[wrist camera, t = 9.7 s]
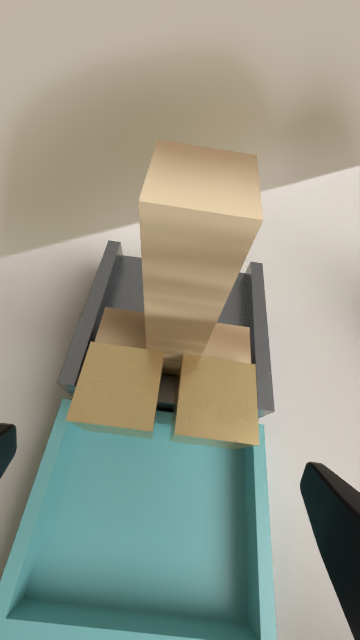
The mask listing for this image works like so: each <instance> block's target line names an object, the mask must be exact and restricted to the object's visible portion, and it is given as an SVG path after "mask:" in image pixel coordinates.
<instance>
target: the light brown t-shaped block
mask: <svg viewBox="0 0 360 640" xmlns="http://www.w3.org/2000/svg"><path fill="white" fill-rule="evenodd" d="M139 217H140V236H141V256H142V275H143V294H144V312H137V311H130V310H123V309H116V308H109V307H105V309H104V313H103V316H102V319H101V322H100V325H99V329H98V332H97V335H96V338H95V342H98V343H105V344H112V345H119V346H127V347H134V348H141V349H148V350H156V351H163V352H164V361H163V370H162V373H164V374H172V375H178V371H179V367H180V364H181V360H182V357H183V354H185V355H192V356H199V357H207V358H214V359H221V360H228V361H236V362H243V363H250V364H251V351H250V327H243V326H236V325H229V324H222V323H217V321H218V318H219V316H220V314H221V312H222V309H223V307H224V305H225V303H226V301H227V298H228V296H229V294H230V292H231V290H232V287H233V285H234V283H235V281H236V279H237V276H238V274H239V272H240V270H241V267H242V265H243V263H244V261H245V259H246V256H247V254H248V252H249V250H250V248H251V245H252V243H253V241H254V239H255V236H256V234H257V232H258V230H259V228H260V225H261V223H262V221H263V216H262V206H261V195H260V185H259V175H258V164H257V155H252V154H246V153H239V152H233V151H227V150H221V149H214V148H209V147H202V146H196V145H190V144H183V143H177V142H171V141H165V140H159V139H158V140H157V144H156V147H155V150H154V153H153V157H152V160H151V163H150V166H149V170H148V173H147V176H146V179H145V182H144V185H143V189H142V192H141V195H140V198H139Z"/></svg>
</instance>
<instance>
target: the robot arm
mask: <svg viewBox="0 0 360 640" xmlns="http://www.w3.org/2000/svg"><path fill="white" fill-rule="evenodd" d="M16 448H17V440H16V426H15V425H13V424H6V423H0V478H1V477H2V475H3V473H4V472H5V470H6V468H7V467H8V465H9V463H10V462H11V460H12V458H13V457H14V455H15V452H16ZM300 490H301V494H302V497H303V500H304V503H305V507H306V510H307V513H308V516H309V520H310V523H311V526H312V529H313V533H314V536H315V539H316V542H317V545H318V548H319V551H320V554H321V556H322V559H323V562H324V564H325V567H326V569H327V572H328V574H329V577H330V579H331V582H332V584H333V587H334V589H335V592H336V594H337V597H338V599H339V602H340V604H341V607H342V609H343V612H344V614H345V617H346V619H347V622H348V624H349V627H350V629H351V632H352V634H353V637H354V639H355V640H360V492H358V491H357V490H356V489H354V488H353V487H352V486H351V485H349V484H348V483H347V482H345V481H344V480H343V479H341V478H340V477H339V476H338V475H336V474H335V473H334V472H332V471H331V470H330V469H329V468H327V467H326V466H325V465H323V464H321V463H316V462H308V463H307V464H306V466H305V470H304V473H303V476H302V479H301V482H300Z"/></svg>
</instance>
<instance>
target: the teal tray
mask: <svg viewBox="0 0 360 640" xmlns="http://www.w3.org/2000/svg"><path fill="white" fill-rule="evenodd" d="M71 401H72V400H71V399H62V402H61V405H60V408H59V411H58V413H57V416H56V419H55V422H54V425H53V428H52V431H51V434H50V437H49V440H48V443H47V446H46V449H45V452H44V455H43V458H42V460H41V463H40V466H39V469H38V472H37V475H36V478H35V481H34V484H33V487H32V490H31V493H30V496H29V499H28V502H27V504H26V507H25V510H24V513H23V516H22V519H21V522H20V525H19V528H18V531H17V534H16V537H15V540H14V543H13V546H12V549H11V551H10V554H9V557H8V560H7V563H6V566H5V569H4V572H3V575H2V578H1V581H0V640H277V634H276V618H275V601H274V585H273V568H272V551H271V535H270V518H269V502H268V485H267V469H266V452H265V436H264V425H262V424H258V426H259V445H258V446H253V447H247V448H242V449H236V450H234V449H226V448H218V447H210V446H202V445H194V444H187V443H179V442H171V441H169V440H170V432H171V423H172V415H173V413H170V412H163V411H157V412H156V419H155V425H154V432H153V439H147V438H139V437H132V436H124V435H116V434H108V433H100V432H92V431H85V430H83V429H81V428H79V427H77V426H75V425H73V424H71V423H69V422H67V421H66V417H67V414H68V411H69V407H70V404H71Z"/></svg>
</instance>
